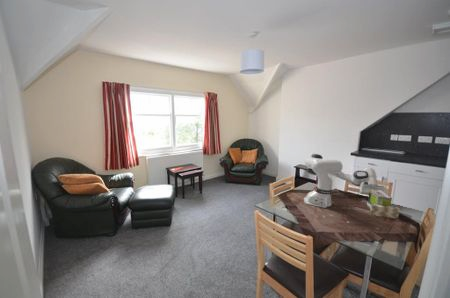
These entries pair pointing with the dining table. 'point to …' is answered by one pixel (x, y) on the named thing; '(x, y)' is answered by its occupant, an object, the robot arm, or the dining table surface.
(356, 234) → the dining table surface
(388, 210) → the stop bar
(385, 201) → the tea box
